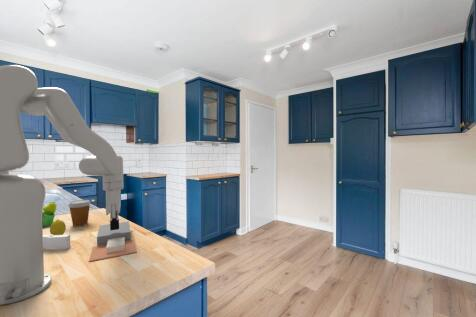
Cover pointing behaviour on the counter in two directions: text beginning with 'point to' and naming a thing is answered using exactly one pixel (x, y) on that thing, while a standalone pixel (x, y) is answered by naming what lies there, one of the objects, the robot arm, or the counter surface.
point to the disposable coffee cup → (79, 212)
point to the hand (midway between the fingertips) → (114, 229)
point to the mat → (100, 252)
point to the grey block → (113, 233)
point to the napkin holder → (56, 242)
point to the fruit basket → (48, 214)
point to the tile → (115, 244)
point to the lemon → (57, 227)
